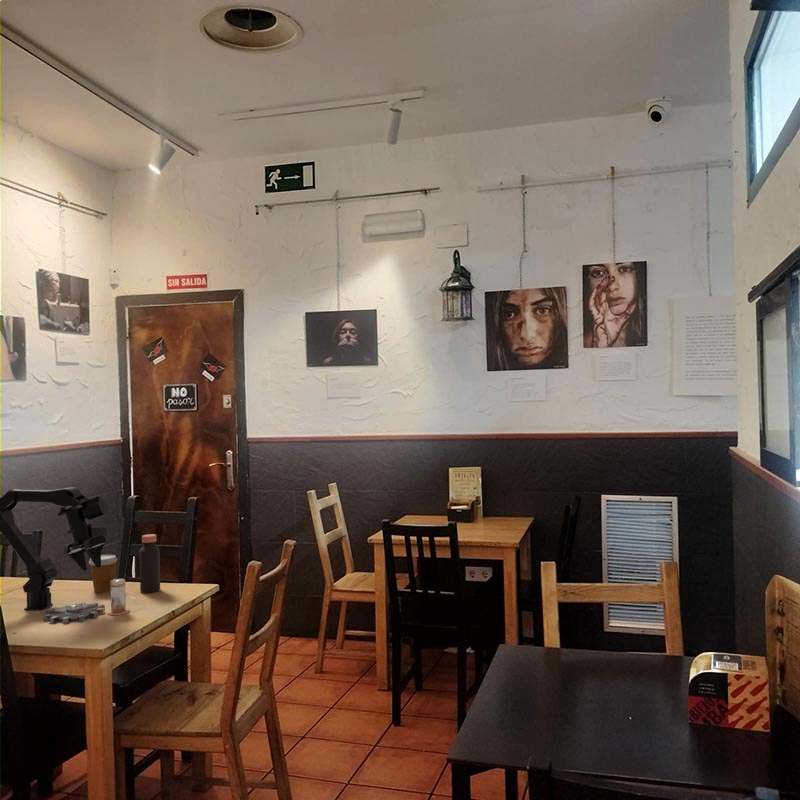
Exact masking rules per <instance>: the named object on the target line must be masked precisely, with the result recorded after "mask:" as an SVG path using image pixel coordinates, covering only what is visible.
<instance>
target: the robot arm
mask: <svg viewBox="0 0 800 800" xmlns="http://www.w3.org/2000/svg"><path fill="white" fill-rule="evenodd" d="M20 502H22V503H23V502H31V503H50V504H53V505H55V506H56V505H57V506H60V507H61V508H60V510H59V512H58V513H57V517H59V516H60V517H61V516H63V515H64V516H65V519H66V523H67V525H68V529H69V530H67V534H68V535H69V534H70V536H71V538H72V542H71V543H68V544H66V545H63V548H62V552H63V555H66V556H67V557H68V558H70V559H71V560H72V561H73V562H74V563H75V564H76V565H77V566H78V568H79V569H80V570H82V571H83V572H84V571H85V572H86V571H88V570H87V569H88V567H87V563H86V557H85V553H86V554H87V555H88V556H89V558H91V560H92V561H93V563H94V564H95V565H96V567H97V568H99V567H101V555H102V549H103V548H104V546H105V545H106V544H107V542H108V527H97V526H93V525H92V523H88V521H87V520H89V521H93V520H95V519H99V518H101V517H104V516H106V515H109V505H108V503H107V502H106V501H105V499H103V498H102V495H97V496H95V497H93V498H88V497H87V496H85V495H84V494H83V493H82V492H81V491H80V489H79V488H78V487H76V486H69V487H65V488H58V489H21V488H14V489H10V490H8V491H7V492H6V493H5V494H4V495H2V497H0V533H1V535H3V536H4V538H5V540H7V542H8V544H9V545H10V547H11V548H12V549H13V550H14V552H15V553H16V554H17V556H18V557H19V559H20V560H21V561H22V562H23V564H24V565H25V569H26V574H27V575H26V576H27V578H28V580H27V581H26V582H25V583H24V585H23V586H22V589H23V592H24V593H26V607H24V609H23V610H24V611H44V610H45V609H47V608H49V607H51V606H52V605H53V603H52V592H51V591H50V587H52V585H53V583H54V582H55V580H56V579H57V575H58V571H57V569H56V568H57V566H56V565H55V564H54V563H53V562H52V560H51V558H50V557H47V558H45V559H44V558H42V557H41V556H40V555H39V554H38V552H37V551H36V550H35V549H34V547H33V545H32V544H31V543H30V542H29V540H27V538H26V537H25V535H24V534H23V532H21V530H20V528H19V527H18V526H17V524H16V523H15V516H14V515H15V514H14V513H13V510H14V509H15V508H17V505H18V503H20ZM68 506H69V507H68ZM78 506H80V507H78Z"/></svg>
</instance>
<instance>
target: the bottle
mask: <svg viewBox="0 0 800 800" xmlns="http://www.w3.org/2000/svg"><path fill="white" fill-rule="evenodd" d="M141 542H142V543H141V544H142V547H141V548H140V549H139V583H140V584H139V585H140V586H139V589H140V592H141V593H143V594H153V593H157V592H160V590H161V563H160V561H161V560H160V559H161V558H160V557H161V555H160V553H161V552H160V551H161V550H160V547H158V545H157V544H156V543H157V534H155V533H152V534H151V533H150V534H144V535H141Z"/></svg>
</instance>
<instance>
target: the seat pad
mask: <svg viewBox="0 0 800 800" xmlns="http://www.w3.org/2000/svg"><path fill="white" fill-rule="evenodd" d="M128 612H129V613H130V612H131V609H130V608H126V611H125V612H122V613H111V609H110V610H108V611H107V612H106V614H107V615H108V616H112V615H115V616H122V614H123V615H125V614H126V613H127V614H129V613H128Z"/></svg>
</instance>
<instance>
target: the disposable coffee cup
mask: <svg viewBox="0 0 800 800" xmlns="http://www.w3.org/2000/svg"><path fill="white" fill-rule="evenodd" d="M89 558H90V557H89ZM117 561H118V558H117V556H116V555H115V554H101V567H99V568H97V567H96V565H95V564H94V563H93V561H92V560H91V558H90V559H89V561H88V563H89V565H90V571H91V572H90V573H91V578H92V586H93V591H94V592H95V593H107V592H111V586H110V583H111V582H110V581H111V580H114V579H115V573H116V563H117Z"/></svg>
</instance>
